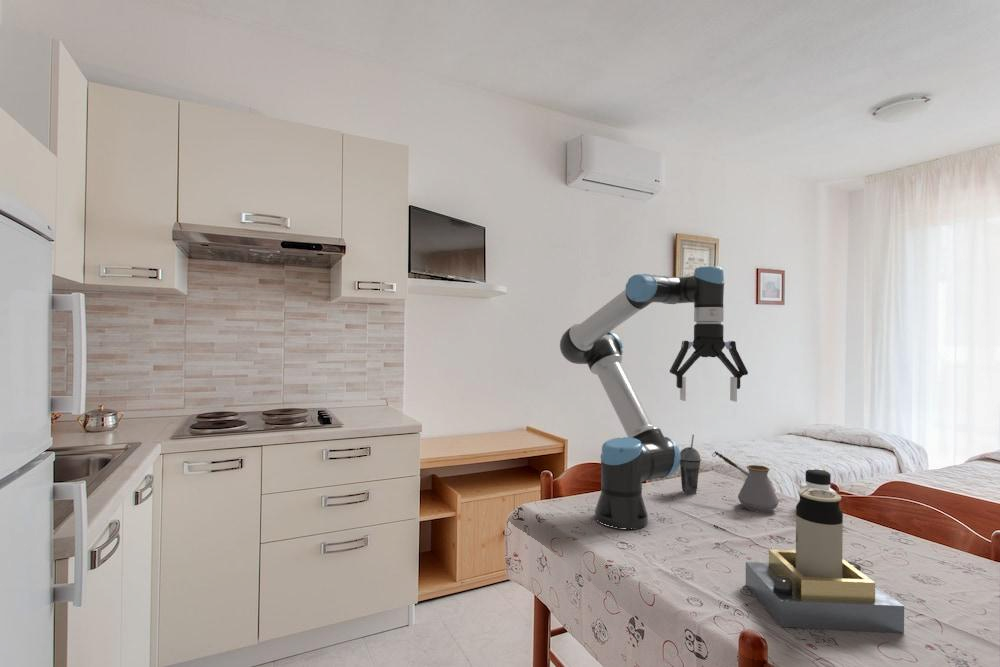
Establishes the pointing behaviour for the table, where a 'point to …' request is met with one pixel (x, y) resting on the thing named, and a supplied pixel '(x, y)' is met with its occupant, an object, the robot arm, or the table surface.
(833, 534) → the travel mug
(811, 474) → the container
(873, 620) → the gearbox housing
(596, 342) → the robot arm
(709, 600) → the table surface
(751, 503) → the coffee pot
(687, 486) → the beverage cup
